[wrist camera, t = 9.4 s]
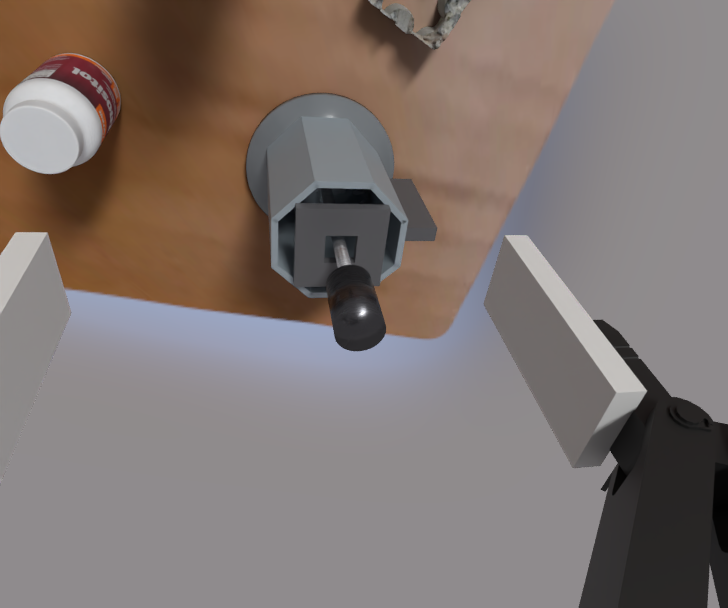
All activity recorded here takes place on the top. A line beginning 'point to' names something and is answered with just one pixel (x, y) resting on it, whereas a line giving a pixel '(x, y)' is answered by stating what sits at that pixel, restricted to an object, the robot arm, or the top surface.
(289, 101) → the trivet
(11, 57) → the top surface
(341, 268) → the plunger
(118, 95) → the pill bottle
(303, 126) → the carafe
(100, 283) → the top surface
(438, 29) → the egg carton
